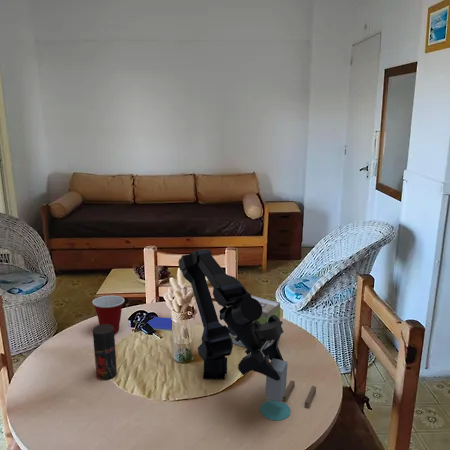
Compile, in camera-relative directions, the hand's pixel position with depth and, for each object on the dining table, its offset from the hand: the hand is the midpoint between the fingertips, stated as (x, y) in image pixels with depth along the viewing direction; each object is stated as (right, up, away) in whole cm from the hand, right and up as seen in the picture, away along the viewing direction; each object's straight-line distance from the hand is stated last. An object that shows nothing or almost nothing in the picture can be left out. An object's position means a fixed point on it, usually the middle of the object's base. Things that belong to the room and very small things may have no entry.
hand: (281, 374), depth 118 cm
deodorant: (-50, -6, +19) cm, 53 cm away
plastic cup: (-55, +1, +44) cm, 70 cm away
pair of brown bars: (+6, -9, +9) cm, 14 cm away
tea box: (-5, -1, +37) cm, 38 cm away
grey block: (-1, -6, +2) cm, 7 cm away
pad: (-1, -11, +3) cm, 11 cm away
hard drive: (-39, +2, +49) cm, 63 cm away
